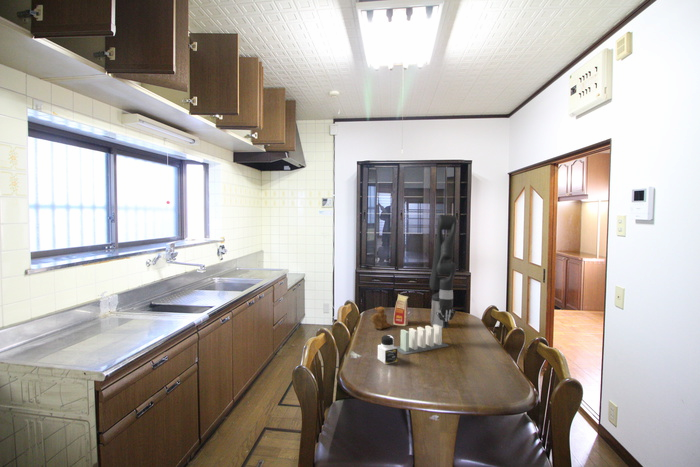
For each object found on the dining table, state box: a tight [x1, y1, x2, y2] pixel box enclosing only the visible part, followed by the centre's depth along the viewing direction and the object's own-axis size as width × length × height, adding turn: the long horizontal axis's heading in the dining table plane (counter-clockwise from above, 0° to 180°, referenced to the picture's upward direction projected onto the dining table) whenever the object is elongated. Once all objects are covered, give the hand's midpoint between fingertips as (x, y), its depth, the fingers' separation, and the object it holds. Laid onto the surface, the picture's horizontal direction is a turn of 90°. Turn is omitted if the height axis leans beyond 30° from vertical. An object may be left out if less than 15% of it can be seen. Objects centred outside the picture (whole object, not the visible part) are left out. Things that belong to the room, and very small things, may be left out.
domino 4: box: [424, 325, 434, 347], centre depth 174 cm, size 2×5×10 cm, turn 24°
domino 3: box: [416, 326, 426, 348], centre depth 171 cm, size 2×5×10 cm, turn 24°
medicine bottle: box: [377, 334, 398, 365], centre depth 154 cm, size 7×7×12 cm
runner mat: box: [396, 341, 450, 356], centre depth 171 cm, size 10×30×1 cm, turn 114°
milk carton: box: [392, 293, 409, 327], centre depth 212 cm, size 9×9×20 cm
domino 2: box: [408, 327, 418, 350], centre depth 169 cm, size 2×5×10 cm, turn 24°
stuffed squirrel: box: [370, 306, 391, 330], centre depth 203 cm, size 10×14×13 cm
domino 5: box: [432, 324, 443, 345], centre depth 176 cm, size 2×5×10 cm, turn 25°
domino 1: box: [399, 329, 409, 351], centre depth 167 cm, size 2×5×10 cm, turn 24°
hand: (445, 327), depth 178 cm, fingers closed
